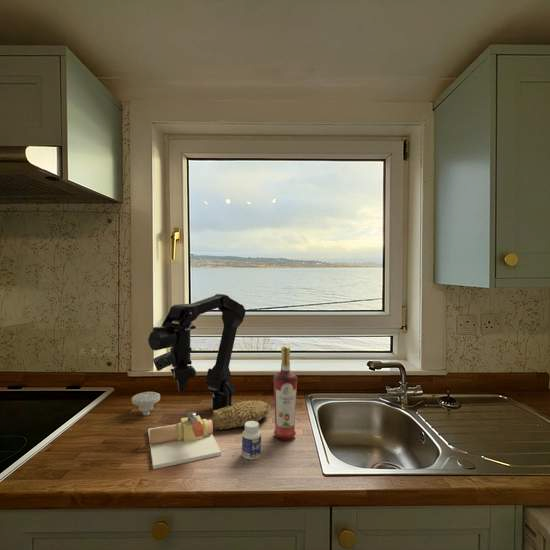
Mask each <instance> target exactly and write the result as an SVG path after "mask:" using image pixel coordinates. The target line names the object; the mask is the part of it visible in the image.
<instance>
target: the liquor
mask: <svg viewBox="0 0 550 550" xmlns="http://www.w3.org/2000/svg"><path fill="white" fill-rule="evenodd" d="M280 350H281V351H280V352H281V365H280V366H281V367H280V371H279V372H276V373H275V374H274V375H273V395H274V396H273V398H274V399H273V400H274V422H275V423H274V424H275V426H274V431H273V434H274V436H276V437H277V438H278V439H279V440H281V441H290V440H291V439H292V438H294V437H295V436H296V435H297V432H296V430H295V426H296V425H295V423H296V422H295V421H296V404H297V403H296V401H297V389H298V388H297V387H298V386H297V385H298V376H297V375H296V373H294V372H292V371H291V363H290V355H291V347H290V346H287V345H285V346H281V348H280Z"/></svg>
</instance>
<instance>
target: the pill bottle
mask: <svg viewBox="0 0 550 550" xmlns="http://www.w3.org/2000/svg"><path fill="white" fill-rule="evenodd" d="M241 438H242V439H241V443H242V444H241V455H242V457H243V459H246V460H250V461H251V460H257V459H258V458H260V457H261V454H262V453H261V451H262V450H261V449H262V432H261V430H260V423H259V421H258V422H256V421H248V422H246V423H245V426H244V430H243V431H242V435H241Z"/></svg>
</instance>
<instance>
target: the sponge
mask: <svg viewBox="0 0 550 550" xmlns="http://www.w3.org/2000/svg"><path fill="white" fill-rule="evenodd" d="M270 411H271V406H270V403H267V402H266V401H265V402H264V401H262V400H243V401H238V402H237V403H234V404H232V405H231V406H230V407H229V406H226V407H223V408H221V409H218V410H214V411H213V410H212V419H211V420H212V424H213V429H214V430H219V431H220V430H228V429H233V428H239V427H245V423H246V422H248V421H256V422H258V423H259V421H260V420H262V419H263V418H265V417H267V416H268V414H269V413H270Z"/></svg>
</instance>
